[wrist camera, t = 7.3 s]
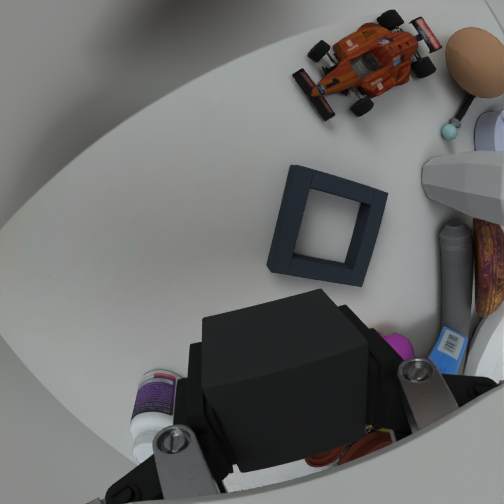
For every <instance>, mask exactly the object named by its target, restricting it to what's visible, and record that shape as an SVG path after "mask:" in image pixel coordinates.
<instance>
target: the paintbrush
mask: <svg viewBox="0 0 504 504" xmlns="http://www.w3.org/2000/svg"><path fill="white" fill-rule="evenodd" d="M475 97H476V96H474V95H472V94H469V97H468V98H467V100H466V101H465V102H464V104H463V105H462V107H461V109H460V110H459V112H458V114H457V115H456V117H455V118H451V119H450V123H451V124H446V125H445V126H444V127H443V129H442V135H443V137H444V138H445V139H447V140H453V139H455V137H456V135H457V130H456V128H460V126H461V124H460V121H461V119H462V118H463V116H464V115H465V113H466V112H467V110H468V108H469V106H470V105H471V103H472V101H473V99H475Z"/></svg>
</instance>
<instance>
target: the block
mask: <svg viewBox="0 0 504 504" xmlns="http://www.w3.org/2000/svg"><path fill="white" fill-rule="evenodd" d="M368 366H369V342H368V340H367V339H366V338H365V337H364V336H363V335H362V333H361V332H360V331H359V330H358V329H357V328H356V327H355V326H354V324H353V323H352V322H351V321H350V320H349V319H348V318H347V317H346V316H345V314H344V313H343V312H342V311H341V310H340V309H339V308H338V307H337V306H336V304H335V303H334V302H333V301H332V300H331V299H330V298H329V297H328V296H327V294H326V293H325V292H324V291H323V290H322V289H316V290H313V291H309V292H305V293H302V294H298V295H294V296H290V297H287V298H283V299H279V300H275V301H271V302H267V303H263V304H259V305H255V306H251V307H247V308H243V309H239V310H235V311H230V312H226V313H222V314H218V315H213V316H209V317H204V318H203V319H202V390H203V392H204V395H205V397H206V399H207V402H208V404H209V406H210V407H212V408H213V411H214V413H215V415H216V417H217V420H218V422H219V424H220V426H221V429H222V431H223V433H224V435H225V437H226V439H227V442H228V444H229V446H230V448H231V450H232V452H233V454H234V456H235V458H236V460H237V466H238V468H239V470H240V471H241V473H245V472H250V471H255V470H260V469H265V468H269V467H273V466H278V465H282V464H286V463H289V462H293V461H297V460H300V459H304V458H307V457H311V456H314V455H317V454H320V453H324V452H327V451H330V450H333V449H336V448H338V447H341V446H344V445H347V444H349V443H352V442H355V441H357V440H360V439H362V438H364V437H365V428H366V415H367V397H368Z"/></svg>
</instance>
